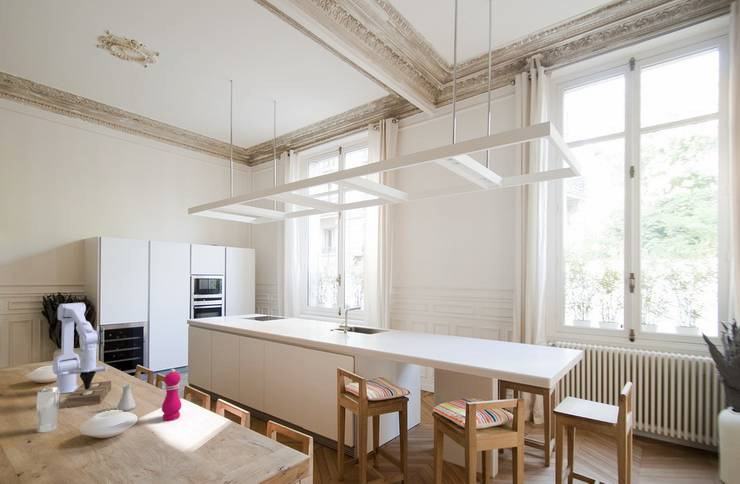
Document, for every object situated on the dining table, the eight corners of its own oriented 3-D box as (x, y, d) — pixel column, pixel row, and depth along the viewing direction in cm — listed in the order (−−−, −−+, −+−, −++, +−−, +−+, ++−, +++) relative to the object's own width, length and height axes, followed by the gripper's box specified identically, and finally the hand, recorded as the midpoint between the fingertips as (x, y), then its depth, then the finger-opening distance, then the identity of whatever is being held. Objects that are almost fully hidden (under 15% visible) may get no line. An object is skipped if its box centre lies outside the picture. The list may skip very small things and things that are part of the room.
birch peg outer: (82, 400, 175) (82, 391, 175) (94, 398, 177) (94, 390, 177) (79, 403, 171) (80, 394, 171) (91, 402, 173) (91, 393, 173)
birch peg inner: (89, 392, 186) (90, 384, 186) (100, 390, 188) (100, 382, 188) (87, 394, 182) (87, 386, 182) (98, 393, 184) (98, 385, 184)
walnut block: (82, 392, 187) (82, 384, 187) (111, 389, 192) (111, 381, 192) (67, 408, 167) (67, 398, 167) (99, 404, 172) (100, 395, 172)
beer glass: (37, 435, 141) (39, 394, 142) (32, 430, 145) (34, 390, 146) (61, 428, 146) (62, 389, 147) (55, 423, 151) (57, 385, 151)
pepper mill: (172, 422, 152) (174, 371, 153) (157, 420, 154) (158, 370, 155) (185, 415, 159) (186, 366, 160) (170, 413, 161) (171, 365, 162)
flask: (139, 405, 170) (140, 383, 170) (127, 412, 162) (128, 388, 163) (124, 405, 170) (125, 382, 171) (112, 411, 163) (113, 388, 164)
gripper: (66, 362, 168) (64, 393, 168) (105, 359, 174) (104, 389, 173) (71, 358, 175) (70, 388, 174) (108, 355, 180) (107, 384, 180)
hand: (87, 388), depth 174 cm, fingers closed
